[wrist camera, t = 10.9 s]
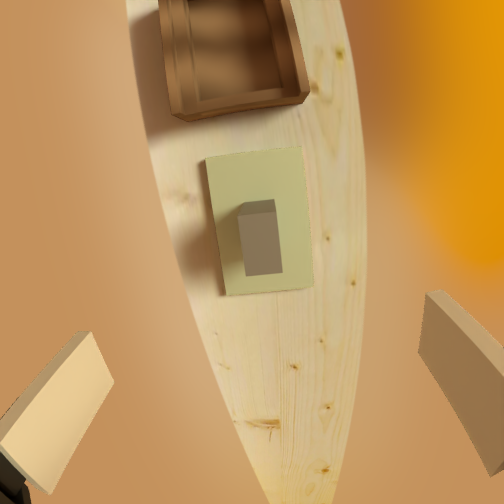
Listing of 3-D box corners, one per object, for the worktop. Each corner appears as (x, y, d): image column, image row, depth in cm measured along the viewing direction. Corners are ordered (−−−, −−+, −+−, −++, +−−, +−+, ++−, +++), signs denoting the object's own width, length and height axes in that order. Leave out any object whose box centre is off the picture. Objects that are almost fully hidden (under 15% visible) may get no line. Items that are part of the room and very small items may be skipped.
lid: (207, 158, 30) (185, 158, 22) (300, 146, 30) (313, 141, 21) (228, 290, 35) (216, 331, 26) (312, 281, 34) (325, 321, 25)
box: (172, 2, 24) (156, -21, 19) (275, -17, 23) (276, -43, 18) (188, 121, 29) (171, 114, 23) (302, 103, 28) (310, 91, 22)
